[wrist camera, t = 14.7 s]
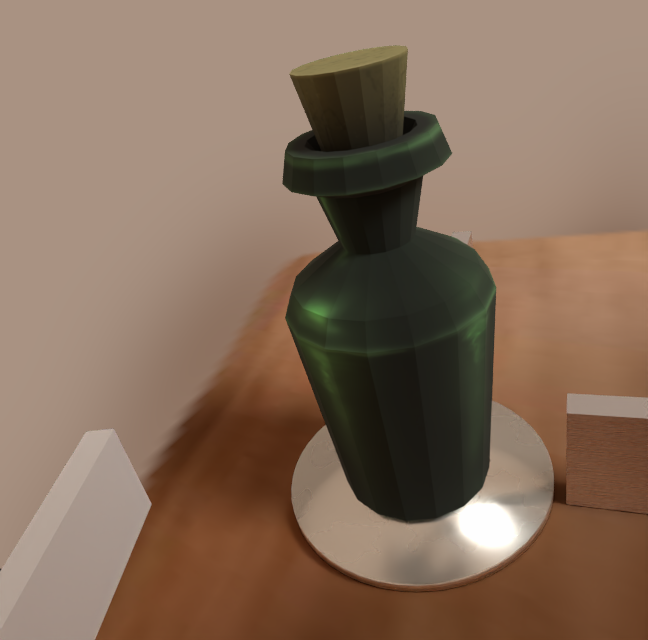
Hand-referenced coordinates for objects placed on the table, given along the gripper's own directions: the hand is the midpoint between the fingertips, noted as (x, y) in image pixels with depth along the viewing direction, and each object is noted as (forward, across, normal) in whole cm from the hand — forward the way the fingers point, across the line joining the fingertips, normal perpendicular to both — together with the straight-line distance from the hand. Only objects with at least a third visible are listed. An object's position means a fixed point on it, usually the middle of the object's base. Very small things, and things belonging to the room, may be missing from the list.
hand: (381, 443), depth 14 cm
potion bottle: (+10, 0, -11) cm, 15 cm away
